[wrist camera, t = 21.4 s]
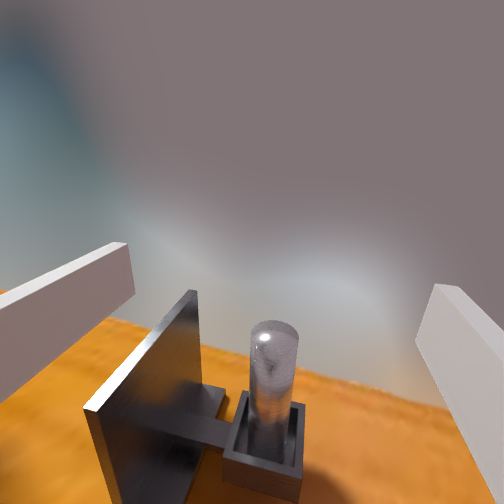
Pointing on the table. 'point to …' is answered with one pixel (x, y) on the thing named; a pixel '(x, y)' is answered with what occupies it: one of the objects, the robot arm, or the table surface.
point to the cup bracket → (179, 423)
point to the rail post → (270, 388)
